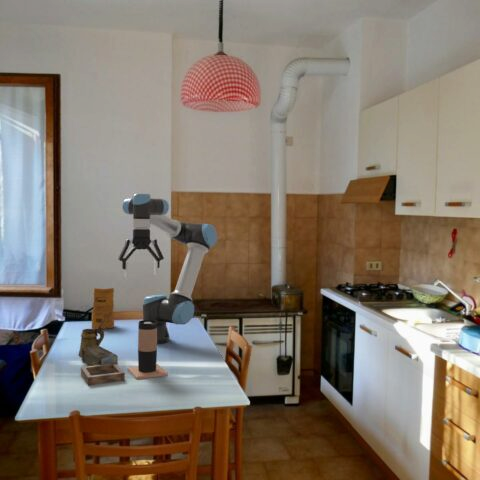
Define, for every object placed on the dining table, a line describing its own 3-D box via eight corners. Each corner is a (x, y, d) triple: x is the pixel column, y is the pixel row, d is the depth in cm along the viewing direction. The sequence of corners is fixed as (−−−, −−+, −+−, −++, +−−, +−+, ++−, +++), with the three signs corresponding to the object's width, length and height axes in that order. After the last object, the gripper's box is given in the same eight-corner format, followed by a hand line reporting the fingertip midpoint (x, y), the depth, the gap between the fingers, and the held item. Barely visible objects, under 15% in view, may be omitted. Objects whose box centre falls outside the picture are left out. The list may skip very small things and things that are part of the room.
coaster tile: (157, 366, 226) (157, 363, 226) (167, 375, 215) (167, 372, 215) (127, 369, 220) (127, 367, 220) (136, 379, 209) (136, 376, 209)
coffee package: (92, 325, 300) (92, 286, 298) (115, 325, 301) (115, 286, 300) (89, 329, 290) (90, 289, 289) (113, 329, 291) (113, 289, 290)
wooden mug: (107, 357, 238) (107, 317, 237) (76, 357, 237) (76, 317, 236) (110, 351, 247) (111, 313, 246) (81, 351, 246) (81, 313, 245)
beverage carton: (100, 372, 217) (100, 356, 217) (80, 361, 231) (80, 346, 231) (118, 369, 222) (118, 353, 222) (97, 358, 237) (97, 343, 236)
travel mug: (138, 367, 221) (139, 319, 220) (157, 367, 222) (157, 319, 221) (136, 373, 214) (137, 323, 212) (156, 372, 214) (156, 323, 213)
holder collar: (115, 370, 220) (115, 363, 219) (124, 380, 207) (124, 372, 207) (80, 374, 213) (80, 367, 213) (88, 385, 201) (88, 377, 201)
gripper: (165, 228, 245) (164, 273, 247) (111, 228, 234) (111, 276, 235) (171, 228, 239) (170, 275, 240) (115, 228, 227) (115, 278, 228)
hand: (141, 276), depth 238 cm, fingers open, 13 cm apart
